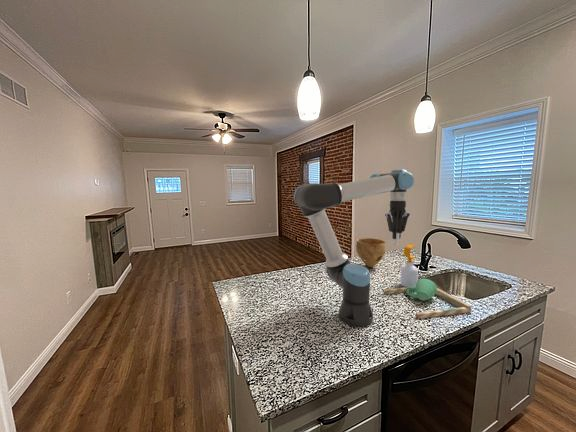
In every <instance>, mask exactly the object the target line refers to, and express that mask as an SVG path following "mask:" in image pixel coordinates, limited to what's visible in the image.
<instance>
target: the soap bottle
mask: <svg viewBox="0 0 576 432" xmlns="http://www.w3.org/2000/svg"><path fill="white" fill-rule="evenodd" d="M415 247H416V245H414V244H412V243H410V244H409V243H408V244H407V245H406V246H404V249H403V257H405V258H407V259H408V260H406V264H404V265H402V266H401V269H400V270H401V271H400V285H401V286H402V287H403V288H406V287H409V286H416V283H417V282H418V280H419V269H418V267H417V266H415V265H414V261H413V259H415V258H416V256H415V255H412V254H411V250H412V249H413V248H415Z"/></svg>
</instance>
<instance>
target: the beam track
mask: <svg viewBox="0 0 576 432" xmlns="http://www.w3.org/2000/svg"><path fill="white" fill-rule="evenodd" d="M409 287H416V286H409ZM409 287H398V288H388V289H387V288H385V289H384V290H383V292H384V294H385V295H390V294H401V293H406V290H407V288H409ZM410 293H413V291H410ZM434 295H436V296H438V297H439V298H441V299H443V301H444V300H445V301H447V302H448V303H449V304H452V305H454V307H447V308H441V309H438V310H436V309H435V310H430V311H429V310H427V311H421V312H420V311H419V312H415V317H416V318H417V319H426V318H427V319H428V318H433V317H434V318H435V317H442V316H448V315H449V316H450V315H458V314H465V313H466V314H467V313H472V305H470V304H468V303H467V302H465V301H463V300H461V299H459V298H457V297H455V296H454V295H452V294H449V293H448V292H446V291H444V290H442V289H440V288H439V287H437V291H436V293H435V294H434ZM455 306H456V307H455Z"/></svg>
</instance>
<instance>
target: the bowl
mask: <svg viewBox="0 0 576 432" xmlns="http://www.w3.org/2000/svg"><path fill="white" fill-rule="evenodd" d="M355 244H356V245H355V250H356V253H357V254H358V257H359V258H360V260H361V261H362V262H363V264H364V265H365V266H367V267H368V268H373V267H376V265H378V264H379V263H380V261H382V259H383V258H384V256H385V255H386V252H387V249H386V247H387V245H386V241H385V240H383V239H380V238H371V237H366V238H361V237H360V238H357V239H356V243H355Z"/></svg>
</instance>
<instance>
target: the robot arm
mask: <svg viewBox="0 0 576 432" xmlns="http://www.w3.org/2000/svg"><path fill="white" fill-rule="evenodd" d="M390 171H391V172H390V173H389V172H387V173H373V174H371V175H370V176H369V178H365V179H360V180H355V181H350V182H349V181H348V182H344V183H337V182H332V183H307V182H306V183H303V184H300V185H299V186H297V188H296V189H295V190H294V193H293V201H294V203H295V205H296V206H297V207H298V208H299V209H300V210H301V211H300V212H301V213H302V215H303V217H304V218H308V221H309V223H310V225H311V228H312V229H313V233H314V234H315V237H316V239H317V241H318V244H319V246H320V248H321V250H322V252H323V254H324V257H325V259H326V260H325V263H324V265H325V267H326V268H325V270H326V274H327V276H328V277H329V279H330V280H331V281H332V282H334V283H336V285H338V286H339V287H340V288H341V289H342V300H341V304H340V306H339V309H338V318H339V320H340V321H341V322H342V323H344V324H346V325H348V326H352V327H353V326H354V327H368V326H369V325H371V324H372V323H373V321H374V314H373V310H372V307H371V303H370V293H371V292H370V290H371V274H370V270H369V269H368V268H367V267H366V266H363V265H361V264H360V265H359V264H356V263H351V261H350V259H349V256H348V255H347V253H344V252H343V251H342V248H341V246H340V244H339V241H338V238H337V236H336V234H335V232H334V229H333V227H332V224H331V222H330V219H329V217H328V216H327V213H326V209H329V208H333V207H337V206H341V204H342V203H344V202H348V201H352V200H357V199H362V198H367V197H372V196H375V195H376V196H377V195H379V194H385V193H388V192H389V193H390V194H389V196H390V197H389V199H390V200H389V212H388V213H385V215H384V216H385V218H386V221H387V227H388V231H389V232H391V233H392V239H393V241H392V242H393V245H394V246H396V247H397V246H400V239H401V237H402V235H401V234H403V232H405V230H406V226H407V223H408V219H409V217H410V213H409V212H407V210H406V207H407V201H406V200H407V190H409V189H411V188H412V187H413V185H414V184H415V178H414V175H413V174H412V173H411V172H409V171H407V170H406V169H392V170H390Z"/></svg>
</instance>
